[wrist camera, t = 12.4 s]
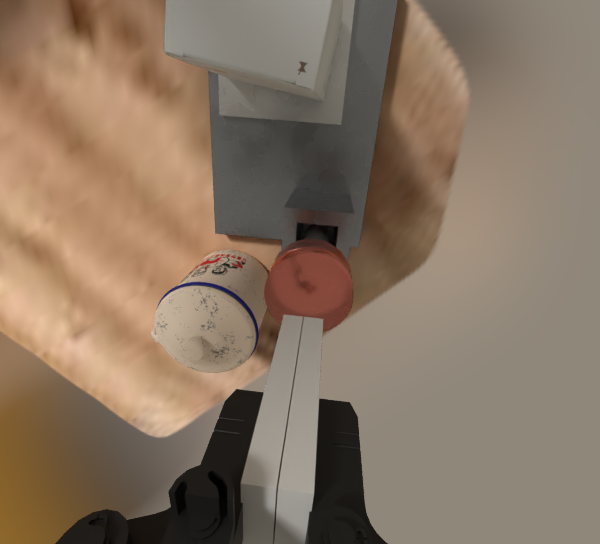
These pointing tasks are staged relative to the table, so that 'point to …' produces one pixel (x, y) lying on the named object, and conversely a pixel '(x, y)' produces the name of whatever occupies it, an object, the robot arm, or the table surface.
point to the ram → (310, 280)
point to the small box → (258, 40)
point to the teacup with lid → (214, 313)
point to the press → (303, 141)
